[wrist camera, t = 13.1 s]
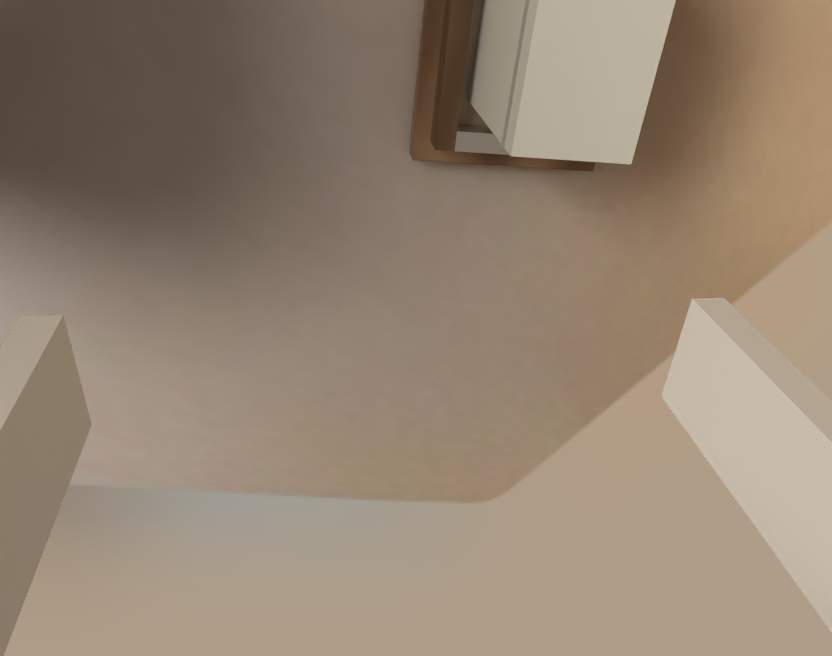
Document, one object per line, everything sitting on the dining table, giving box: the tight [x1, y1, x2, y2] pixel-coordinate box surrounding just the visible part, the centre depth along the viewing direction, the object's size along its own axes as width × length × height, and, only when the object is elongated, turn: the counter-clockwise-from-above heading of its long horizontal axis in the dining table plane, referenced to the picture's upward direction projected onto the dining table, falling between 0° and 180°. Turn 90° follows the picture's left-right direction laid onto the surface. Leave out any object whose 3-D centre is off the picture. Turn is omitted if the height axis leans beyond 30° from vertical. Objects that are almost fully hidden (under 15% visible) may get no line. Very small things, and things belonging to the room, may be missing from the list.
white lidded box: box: [468, 0, 676, 164], centre depth 34 cm, size 6×12×11 cm, turn 174°
